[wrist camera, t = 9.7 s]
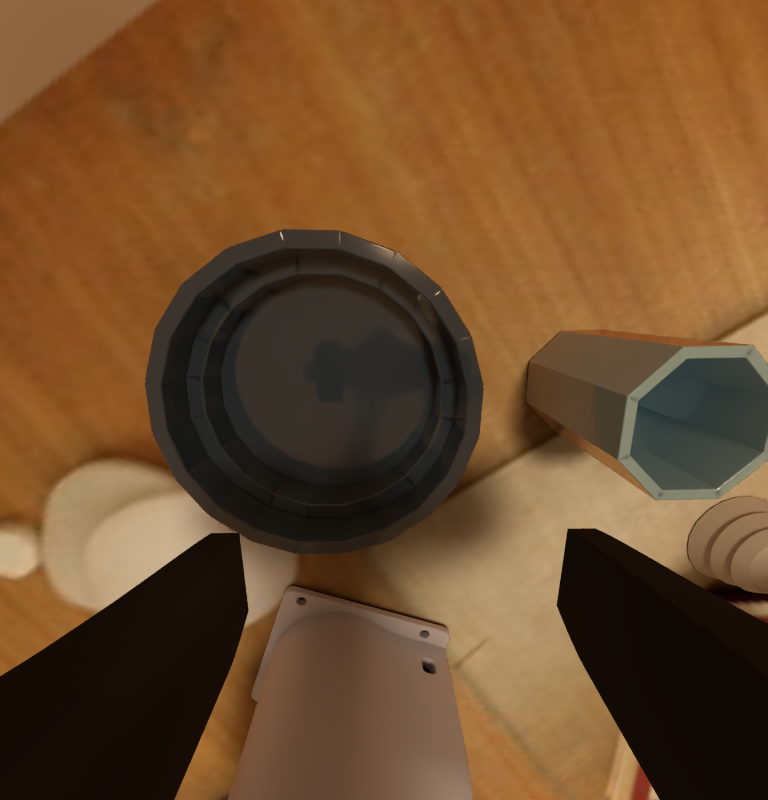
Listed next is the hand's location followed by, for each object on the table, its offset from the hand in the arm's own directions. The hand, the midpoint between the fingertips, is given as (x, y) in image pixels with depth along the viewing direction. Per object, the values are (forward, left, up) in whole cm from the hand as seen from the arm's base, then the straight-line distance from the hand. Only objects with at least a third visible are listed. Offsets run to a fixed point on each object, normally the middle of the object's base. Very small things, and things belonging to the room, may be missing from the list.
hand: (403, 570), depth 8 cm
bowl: (+3, -1, -10) cm, 11 cm away
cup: (-8, -5, -10) cm, 14 cm away
